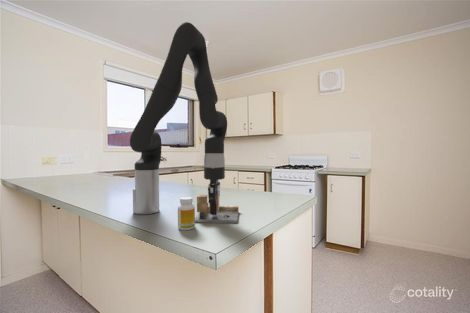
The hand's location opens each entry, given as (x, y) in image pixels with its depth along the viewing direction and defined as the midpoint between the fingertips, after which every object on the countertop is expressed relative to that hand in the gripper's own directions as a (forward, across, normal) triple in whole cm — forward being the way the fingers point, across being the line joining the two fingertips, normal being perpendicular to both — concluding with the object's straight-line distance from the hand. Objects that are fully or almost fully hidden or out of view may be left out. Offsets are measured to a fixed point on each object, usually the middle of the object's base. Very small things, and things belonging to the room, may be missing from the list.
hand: (214, 211), depth 86 cm
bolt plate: (+3, -1, +1) cm, 3 cm away
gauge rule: (+3, -4, +1) cm, 5 cm away
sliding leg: (+1, 0, 0) cm, 1 cm away
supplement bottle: (+3, +10, -8) cm, 13 cm away
